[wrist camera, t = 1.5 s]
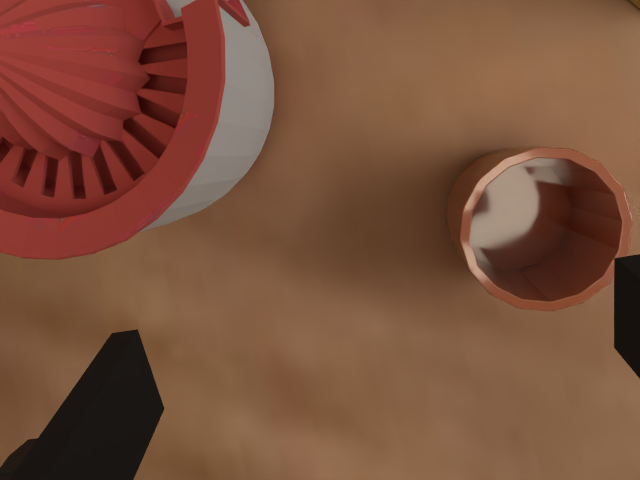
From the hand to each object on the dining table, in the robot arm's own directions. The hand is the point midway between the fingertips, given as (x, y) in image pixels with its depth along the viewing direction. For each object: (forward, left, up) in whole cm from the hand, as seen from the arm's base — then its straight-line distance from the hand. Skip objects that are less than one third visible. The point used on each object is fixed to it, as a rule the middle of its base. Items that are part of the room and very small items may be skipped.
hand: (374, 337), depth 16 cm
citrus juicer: (+16, -3, -23) cm, 28 cm away
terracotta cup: (-6, -5, -23) cm, 24 cm away
